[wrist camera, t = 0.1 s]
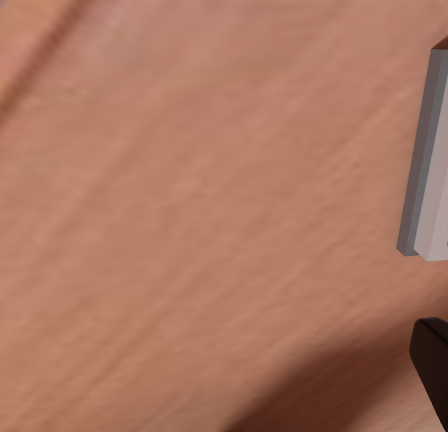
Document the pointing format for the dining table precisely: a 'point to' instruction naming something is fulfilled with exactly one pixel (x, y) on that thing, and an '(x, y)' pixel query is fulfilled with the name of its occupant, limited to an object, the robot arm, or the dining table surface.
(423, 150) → the dock
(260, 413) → the dining table surface
